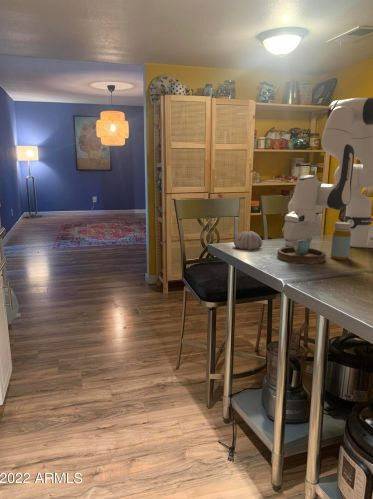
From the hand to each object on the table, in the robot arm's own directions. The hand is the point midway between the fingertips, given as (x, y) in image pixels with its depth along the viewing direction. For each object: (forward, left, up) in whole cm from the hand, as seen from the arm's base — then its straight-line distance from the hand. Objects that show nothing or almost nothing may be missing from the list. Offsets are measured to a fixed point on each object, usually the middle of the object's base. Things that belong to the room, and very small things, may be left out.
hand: (301, 248), depth 159 cm
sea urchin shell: (+4, -27, -4) cm, 28 cm away
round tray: (0, 0, -4) cm, 4 cm away
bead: (0, 0, -2) cm, 2 cm away
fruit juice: (-19, -18, -4) cm, 26 cm away
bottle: (-14, +9, -4) cm, 17 cm away
